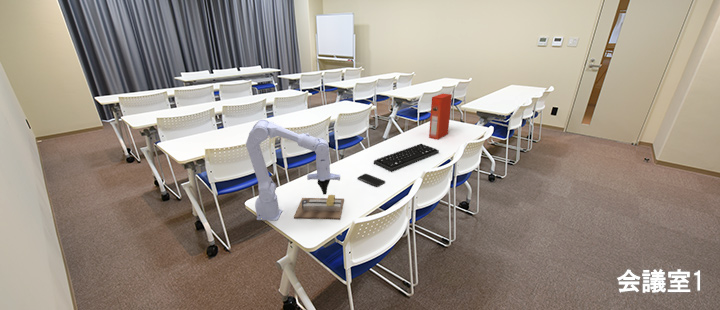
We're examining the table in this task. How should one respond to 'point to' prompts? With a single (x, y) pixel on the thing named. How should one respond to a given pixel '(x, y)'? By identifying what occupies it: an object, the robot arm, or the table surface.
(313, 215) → the walnut board
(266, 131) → the robot arm
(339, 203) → the bar
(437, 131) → the file binder
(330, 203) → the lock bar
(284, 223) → the table surface
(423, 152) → the computer keyboard
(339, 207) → the fixed tong arm
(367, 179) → the phone
